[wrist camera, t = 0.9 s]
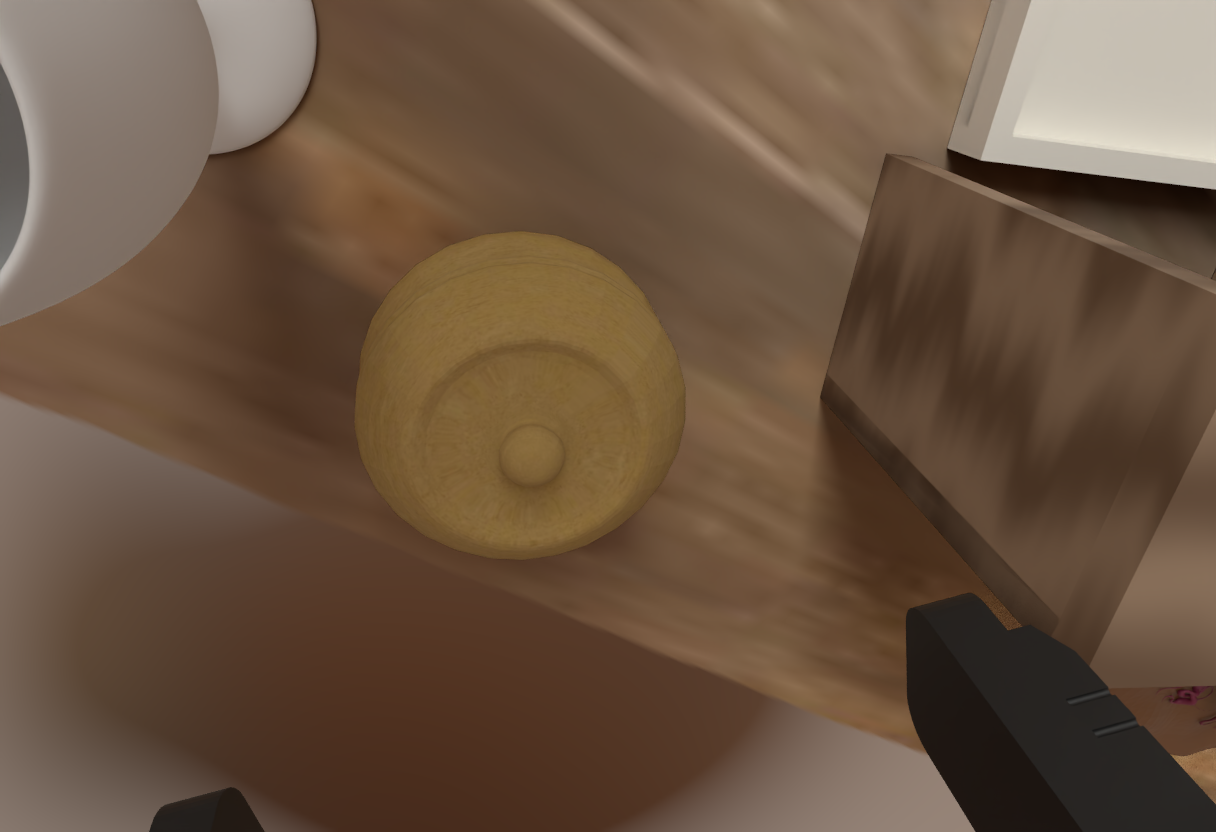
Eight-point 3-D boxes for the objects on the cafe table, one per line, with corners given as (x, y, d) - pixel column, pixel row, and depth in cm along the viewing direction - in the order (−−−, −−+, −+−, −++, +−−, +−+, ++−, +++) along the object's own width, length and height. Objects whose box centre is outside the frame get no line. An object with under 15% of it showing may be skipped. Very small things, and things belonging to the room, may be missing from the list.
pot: (301, 325, 35) (257, 448, 26) (539, 144, 33) (576, 210, 24) (487, 513, 40) (501, 667, 31) (698, 365, 39) (775, 484, 30)
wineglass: (364, -10, 30) (251, 37, 11) (242, 201, 32) (-14, 520, 14) (104, -203, 26) (-661, -581, 8) (-11, 50, 29) (-803, 208, 10)
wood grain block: (886, 153, 36) (1263, 314, 19) (1270, 200, 40) (1843, 365, 24) (820, 397, 40) (1078, 689, 24) (1169, 416, 44) (1588, 676, 28)
